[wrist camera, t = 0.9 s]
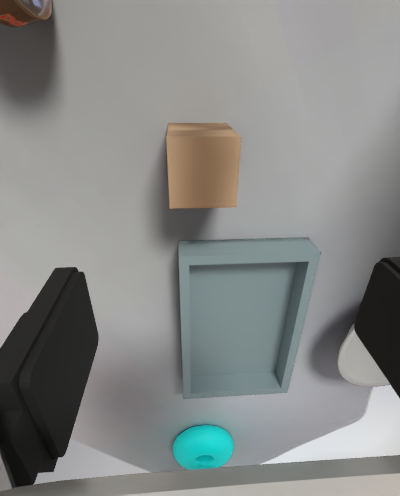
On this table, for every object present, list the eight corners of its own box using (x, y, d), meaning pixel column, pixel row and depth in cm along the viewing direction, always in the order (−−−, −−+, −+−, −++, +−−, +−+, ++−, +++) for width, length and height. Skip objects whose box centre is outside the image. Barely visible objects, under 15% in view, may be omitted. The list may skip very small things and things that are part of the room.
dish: (361, 369, 44) (381, 401, 40) (295, 329, 39) (310, 360, 35) (473, 291, 38) (512, 318, 34) (412, 231, 33) (447, 255, 29)
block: (226, 123, 26) (241, 137, 20) (223, 179, 29) (236, 207, 23) (168, 123, 26) (166, 137, 20) (171, 180, 28) (169, 208, 22)
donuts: (243, 492, 40) (243, 523, 45) (231, 417, 48) (232, 450, 53) (167, 501, 39) (176, 531, 44) (169, 424, 48) (176, 457, 53)
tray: (308, 237, 32) (320, 252, 30) (280, 372, 43) (287, 392, 41) (178, 240, 32) (178, 256, 29) (182, 377, 43) (183, 398, 40)
